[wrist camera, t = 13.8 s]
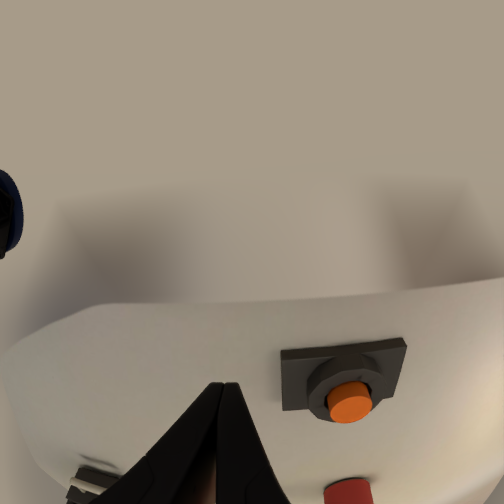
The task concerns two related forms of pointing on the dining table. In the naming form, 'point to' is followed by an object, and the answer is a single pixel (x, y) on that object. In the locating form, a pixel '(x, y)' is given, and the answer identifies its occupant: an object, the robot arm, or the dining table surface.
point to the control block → (339, 373)
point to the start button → (349, 402)
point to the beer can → (349, 492)
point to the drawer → (87, 486)
